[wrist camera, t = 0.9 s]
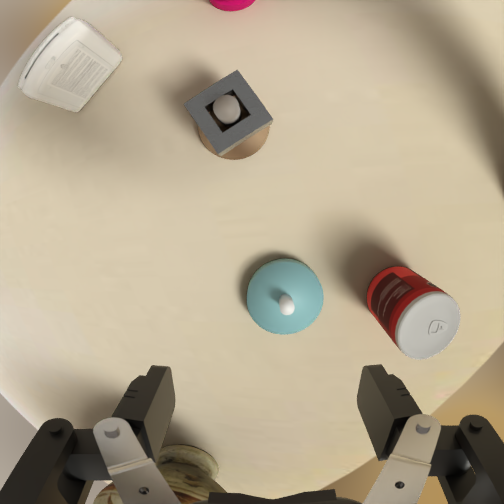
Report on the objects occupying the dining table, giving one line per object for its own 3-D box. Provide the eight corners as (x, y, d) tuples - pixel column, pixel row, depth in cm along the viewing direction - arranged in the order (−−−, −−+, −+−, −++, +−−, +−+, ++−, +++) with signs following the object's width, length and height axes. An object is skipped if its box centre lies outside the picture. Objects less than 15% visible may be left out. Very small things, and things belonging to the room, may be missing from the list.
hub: (296, 244, 38) (301, 252, 33) (332, 303, 39) (341, 317, 35) (232, 284, 39) (229, 297, 35) (272, 339, 41) (273, 357, 36)
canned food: (418, 311, 40) (458, 348, 29) (366, 325, 40) (396, 369, 29) (417, 258, 38) (462, 284, 27) (362, 271, 38) (396, 303, 28)
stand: (244, 81, 34) (240, 49, 24) (282, 135, 35) (292, 120, 25) (186, 118, 35) (162, 98, 25) (224, 173, 36) (212, 171, 26)
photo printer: (110, 42, 32) (64, 4, 20) (129, 56, 33) (85, 18, 21) (61, 101, 34) (3, 83, 22) (78, 118, 35) (19, 102, 22)
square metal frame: (238, 77, 28) (237, 69, 26) (271, 123, 29) (273, 119, 27) (188, 109, 29) (183, 104, 26) (221, 156, 30) (217, 154, 27)
